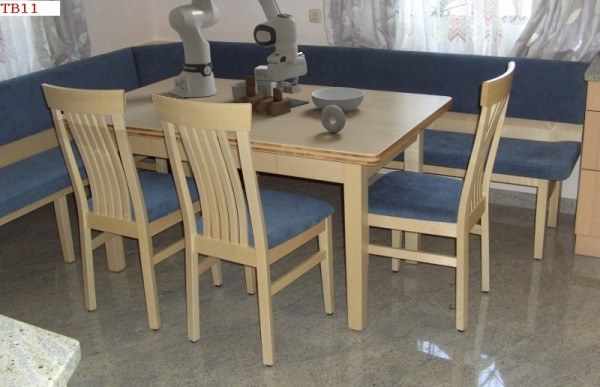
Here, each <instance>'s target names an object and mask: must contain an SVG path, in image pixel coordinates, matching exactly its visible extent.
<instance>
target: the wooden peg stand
mask: <svg viewBox="0 0 600 387" xmlns="http://www.w3.org/2000/svg"><path fill="white" fill-rule="evenodd" d="M244 78H245V79H244V81H246V95H245V96H241V97H239V103H251V104H252V112H251V113H256V114H261V115H266V116H271V117H278V116H281V115H285V114H289V113H291V112H292V108H291V103H290V99H285V98H283V92H282V88H281V87H275V88H273V96H268V95H267V88H263V94H257V93H256V90H255V75H252V74H251V75H245V77H244ZM239 103H238V104H239Z"/></svg>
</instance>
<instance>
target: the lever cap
mask: <svg viewBox="0 0 600 387" xmlns="http://www.w3.org/2000/svg"><path fill="white" fill-rule="evenodd" d="M301 85H302V84H301V83H298V82H297V83H293V82H288V81H283V86H285V91H282V94H290V95H294V94H297V93H301V92H302V86H301ZM276 87H279V85H278V83H276Z"/></svg>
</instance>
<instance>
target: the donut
mask: <svg viewBox="0 0 600 387" xmlns="http://www.w3.org/2000/svg"><path fill="white" fill-rule="evenodd" d="M344 113H345V112H343V111H342V110H341V109H340V108H339V107H337V106H335V105H329V106H327V107H325V108H324V109H323V110H322V111H321V113H320V121H321V124H322V127H323V128H324V129H325V130H326V131H327V132H330V133H332V134H337V133H340V132H341V131H342V130H343V129H345V128H344V127H345V125H346V116H345V114H344ZM331 116H333V117H334V118H335V123H334V122H332V119H331Z"/></svg>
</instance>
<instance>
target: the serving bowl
mask: <svg viewBox="0 0 600 387" xmlns="http://www.w3.org/2000/svg"><path fill="white" fill-rule="evenodd" d="M310 95H311V99H312V100H311V101H312V102H313V104H314V106H315V107H317V109H320V110H322V111H323V109H324V108H325V107H327V106H329V105H335V106H337V107H339V108H340V109H341V110H342V111H343V113H346V111H347V112H350V111H353V110H355V109H357V108H358V107H359V106H361V105H362V103H363V101H364V98H365V92H364V91H363V90H361V89H358V88H353V87H342V86H340V87H339V86H338V87H326V88H325V87H324V88H321V89H320V88H319V89H316V90H314V91H312V92H311V94H310Z"/></svg>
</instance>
